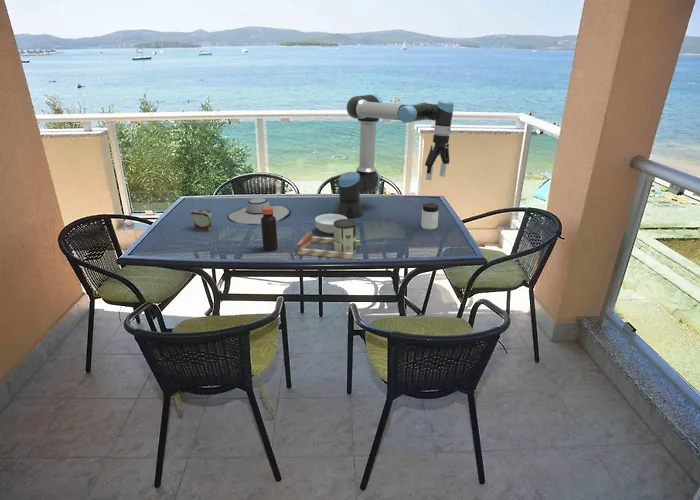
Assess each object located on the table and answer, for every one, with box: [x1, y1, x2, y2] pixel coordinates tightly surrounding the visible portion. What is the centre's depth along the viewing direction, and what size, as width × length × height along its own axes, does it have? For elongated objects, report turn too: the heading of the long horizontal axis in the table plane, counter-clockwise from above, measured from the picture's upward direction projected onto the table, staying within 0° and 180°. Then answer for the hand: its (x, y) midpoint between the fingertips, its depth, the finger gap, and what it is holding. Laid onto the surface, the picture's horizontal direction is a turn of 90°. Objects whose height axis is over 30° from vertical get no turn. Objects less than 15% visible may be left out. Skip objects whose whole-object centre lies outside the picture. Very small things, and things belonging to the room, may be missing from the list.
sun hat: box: [227, 197, 292, 226], centre depth 258 cm, size 36×36×9 cm
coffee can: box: [333, 218, 357, 254], centre depth 207 cm, size 10×10×14 cm
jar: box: [420, 202, 439, 230], centre depth 237 cm, size 9×8×12 cm
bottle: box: [261, 207, 279, 252], centre depth 209 cm, size 7×7×20 cm
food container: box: [190, 208, 213, 233], centre depth 236 cm, size 12×6×10 cm, turn 65°
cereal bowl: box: [314, 213, 348, 235], centre depth 232 cm, size 17×17×7 cm
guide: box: [296, 230, 361, 260], centre depth 210 cm, size 26×17×5 cm, turn 78°
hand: (435, 178), depth 224 cm, fingers open, 13 cm apart
